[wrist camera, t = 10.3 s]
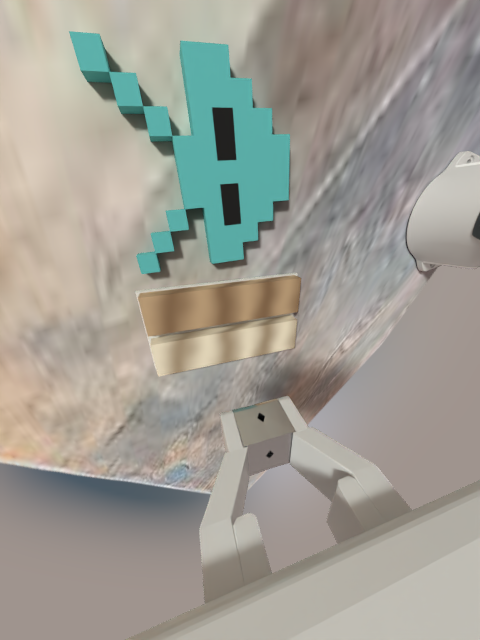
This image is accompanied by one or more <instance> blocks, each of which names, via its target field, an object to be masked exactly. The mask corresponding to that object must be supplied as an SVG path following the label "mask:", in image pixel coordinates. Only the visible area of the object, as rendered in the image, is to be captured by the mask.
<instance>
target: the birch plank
mask: <svg viewBox="0 0 480 640" xmlns="http://www.w3.org/2000/svg"><path fill="white" fill-rule="evenodd" d="M296 327H297V319H296V318H294V317H293V316H292V315H288V316H282V317H276V318H270V319H264V320H258V321H252V322H246V323H240V324H234V325H228V326H222V327H216V328H210V329H204V330H198V331H192V332H186V333H180V334H175V335H169V336H163V337H157V338H151V343H150V347H151V350H152V354H153V358H154V362H155V366H156V369H157V373H158V377H159V376H163V375H168V374H173V373H178V372H182V371H187V370H192V369H197V368H201V367H206V366H211V365H216V364H220V363H225V362H230V361H235V360H239V359H244V358H249V357H254V356H259V355H263V354H268V353H273V352H278V351H282V350H287V349H292V348H294V347H295V337H296Z"/></svg>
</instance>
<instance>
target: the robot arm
mask: <svg viewBox="0 0 480 640" xmlns="http://www.w3.org/2000/svg"><path fill="white" fill-rule="evenodd" d="M407 244H408V248H409V251H410V252H411V254H412V255H413V256H414V257H415V259H416V262H417V267H418V270H419V271H428V270H431V269H434V268H436V267H439V266H442V265H444V266H451V267H459V268H467V269H477V268H478V267H480V156H478V155H476V154H474V153H472V152H470V151H465V152H460V153H458V154H457V155H456V156H455V158H454V159H453V160H452V162H451V163H450V164H449V166H448V167H447V169H446V170H445V171H444V172H443V173H441V174H440V175H439V176H438V177H436V178H435V179H434V180H433V181H432V182H431V183H430V184H429V185H428V186H427V188H426V189H425V190H424V191H423V193H422V194H421V196H420V197H419V199H418V201H417V203H416V204H415V207H414V209H413V211H412V214H411V216H410V220H409V223H408V228H407ZM220 421H221V430H222V436H223V443H224V448H225V452H226V453H225V455H224V458H223V460H222V463H221V466H220V469H219V472H218V475H217V478H216V481H215V484H214V487H213V490H212V493H211V496H210V499H209V503H208V505H207V508H206V511H205V514H204V517H203V521H202V523H201V526H200V529H199V532H200V545H201V558H202V572H203V586H204V600H205V604H203V605H201V606H199V607H197V608H194V609H192V610H190V611H188V612H186V613H183V614H181V615H179V616H177V617H175V618H172V619H170V620H168V621H166V622H163V623H161V624H159V625H157V626H155V627H153V628H150V629H148V630H146V631H143V632H141V633H139V634H137V635H134V636H132V637H130V638H128V639H126V640H480V480H479V481H477V482H474V483H472V484H470V485H468V486H465V487H463V488H461V489H459V490H457V491H454V492H452V493H450V494H448V495H446V496H443V497H441V498H439V499H437V500H435V501H432V502H430V503H428V504H425V505H423V506H421V507H419V508H417V509H414V510H412V509H411V508H410V507H409V506H408V504H407V503H406V502H405V501H404V499H403V498H402V497H401V496H400V495H399V493H398V492H397V491H396V490H395V489H394V487H393V486H392V485H391V484H390V482H389V481H388V480H387V478H386V477H385V476H384V475H383V473H382V472H381V471H380V470H379V469H378V467H377V466H376V465H375V464H373V463H372V462H370V461H368V460H367V459H365V458H363V457H362V456H360V455H358V454H357V453H355V452H353V451H351V450H350V449H348V448H346V447H345V446H343V445H342V444H340V443H338V442H337V441H335V440H333V439H332V438H330V437H328V436H327V435H325V434H323V433H321V432H320V431H318V430H317V429H315V428H313V427H311V428H309V427H308V425H307V424H306V422H305V421H304V419H303V418H302V416H301V414H300V413H299V411H298V410H297V408H296V407H295V405H294V404H293V402H292V400H291V399H290V397H288V396H285V397H281V398H277V399H273V400H269V401H265V402H262V403H258V404H254V405H252V406H247V407H243V408H239V409H234V410H230V411H226V412H222V413H220ZM287 463H290V465H291V466H292V467H293V468H295V469H296V470H297V471H298V472H299V473H300V474H301V475H302V476H304V477H305V478H306V479H307V480H308V481H309V482H310V483H311V484H313V485H314V486H315V487H316V488H317V489H318V490H319V491H320V492H321V493H323V494H324V495H325V496H326V497H327V498H328V499H329V500H330V501H331V502H332V503H331V507H330V510H329V513H328V518H327V523H328V525H329V527H330V529H331V531H332V533H333V535H334V537H335V540H336V542H337V545H335V546H332V547H330V548H328V549H325V550H323V551H321V552H319V553H317V554H314V555H312V556H310V557H308V558H305V559H303V560H301V561H299V562H297V563H294V564H292V565H290V566H288V567H286V568H283V569H281V570H279V571H277V572H274V573H272V572H271V568H270V565H269V561H268V558H267V554H266V550H265V547H264V543H263V540H262V537H261V532H260V529H259V525H258V522H257V518H256V516H255V515H253V514H251V513H248V514H245V515H243V509H244V504H245V499H246V493H247V488H248V483H249V476H251V475H254V474H257V473H259V472H262V471H265V470H267V469H270V468H273V467H277V466H280V465H284V464H287ZM242 515H243V516H242Z"/></svg>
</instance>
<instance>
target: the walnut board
mask: <svg viewBox="0 0 480 640" xmlns="http://www.w3.org/2000/svg"><path fill="white" fill-rule="evenodd" d="M300 284H301V278H300V277H297V276H295V275H291V276H282V277H274V278H265V279H257V280H248V281H239V282H231V283H222V284H214V285H205V286H197V287H188V288H180V289H171V290H163V291H154V292H146V293H140V294H139V296H138V301H139V304H140V308H141V312H142V316H143V320H144V324H145V327H146V331H147V335H148V337H149V336H156V335H162V334H168V333H174V332H180V331H186V330H192V329H198V328H204V327H210V326H216V325H222V324H228V323H234V322H240V321H246V320H253V319H259V318H265V317H271V316H277V315H283V314H289V313H294V312H298V305H299V295H300Z"/></svg>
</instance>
